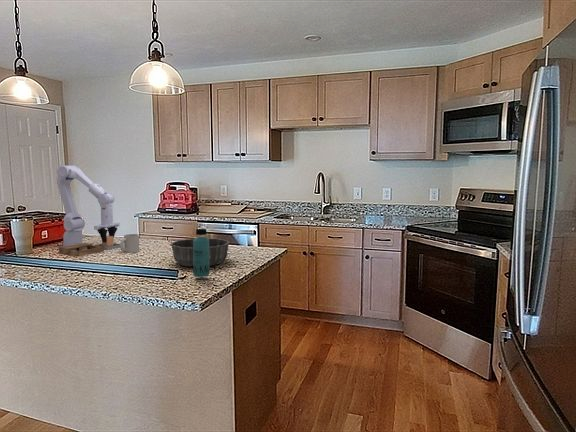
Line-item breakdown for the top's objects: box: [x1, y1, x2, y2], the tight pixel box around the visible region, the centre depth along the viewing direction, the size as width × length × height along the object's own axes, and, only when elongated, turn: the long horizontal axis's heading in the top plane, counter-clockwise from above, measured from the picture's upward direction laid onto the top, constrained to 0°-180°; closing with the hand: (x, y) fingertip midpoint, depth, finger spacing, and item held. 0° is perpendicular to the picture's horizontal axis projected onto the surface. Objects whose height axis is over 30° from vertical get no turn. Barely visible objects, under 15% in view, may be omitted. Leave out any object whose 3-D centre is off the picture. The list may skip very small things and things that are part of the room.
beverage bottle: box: [192, 228, 211, 278], centre depth 159 cm, size 6×7×20 cm
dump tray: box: [94, 242, 121, 251], centre depth 217 cm, size 11×10×2 cm
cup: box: [119, 233, 140, 254], centre depth 207 cm, size 7×10×9 cm
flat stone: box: [77, 246, 87, 251], centre depth 208 cm, size 4×4×2 cm
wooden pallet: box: [58, 242, 105, 258], centre depth 203 cm, size 15×14×4 cm
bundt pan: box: [170, 237, 230, 267], centre depth 186 cm, size 26×26×10 cm
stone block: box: [101, 235, 115, 247], centre depth 216 cm, size 4×4×5 cm
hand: (107, 241), depth 216 cm, fingers closed on stone block, 4 cm apart
